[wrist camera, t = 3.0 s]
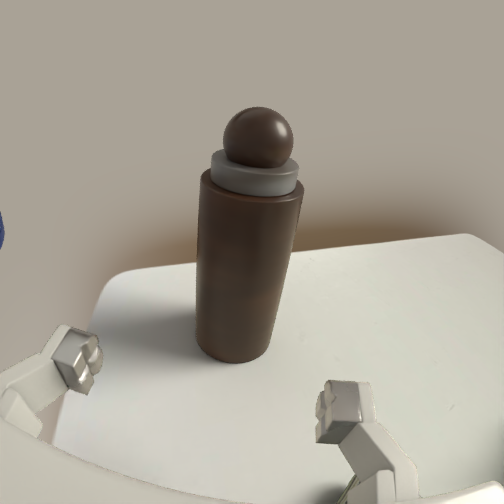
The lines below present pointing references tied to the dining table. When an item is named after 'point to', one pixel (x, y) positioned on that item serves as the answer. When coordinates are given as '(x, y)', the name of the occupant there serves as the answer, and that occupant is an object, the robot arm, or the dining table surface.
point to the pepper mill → (245, 235)
